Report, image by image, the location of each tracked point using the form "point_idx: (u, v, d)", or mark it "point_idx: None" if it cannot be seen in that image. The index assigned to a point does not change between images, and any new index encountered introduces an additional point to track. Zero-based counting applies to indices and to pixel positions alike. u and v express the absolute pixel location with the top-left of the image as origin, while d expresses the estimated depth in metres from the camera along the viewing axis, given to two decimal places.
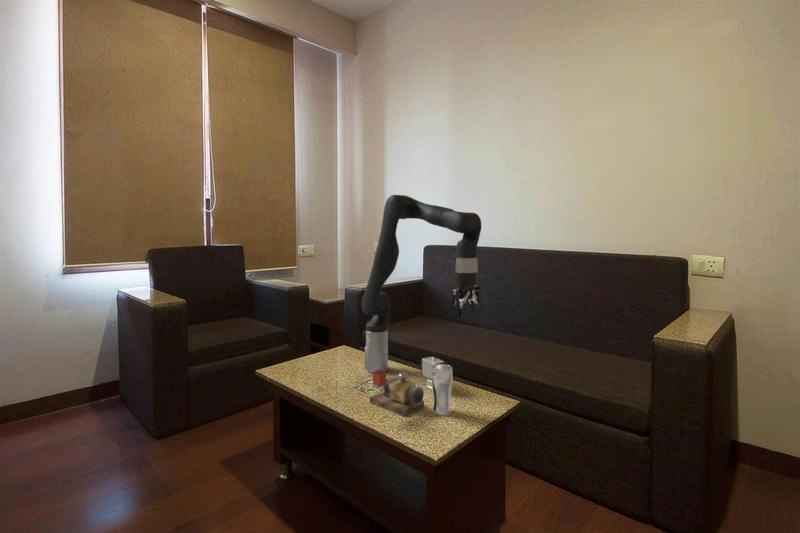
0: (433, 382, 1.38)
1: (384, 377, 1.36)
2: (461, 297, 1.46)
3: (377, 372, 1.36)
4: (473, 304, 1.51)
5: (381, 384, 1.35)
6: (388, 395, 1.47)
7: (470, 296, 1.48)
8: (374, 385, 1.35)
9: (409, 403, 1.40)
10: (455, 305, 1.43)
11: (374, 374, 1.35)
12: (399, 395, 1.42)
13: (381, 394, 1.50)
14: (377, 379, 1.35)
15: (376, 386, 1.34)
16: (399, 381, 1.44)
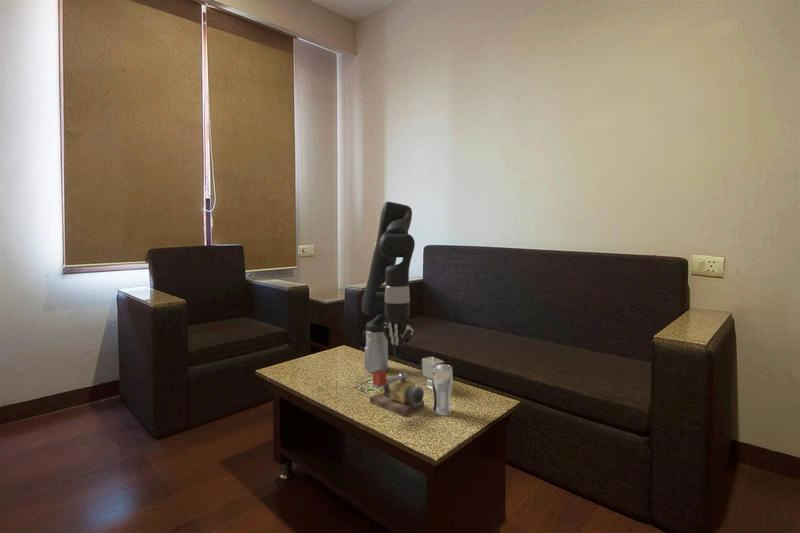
0: (433, 382, 1.38)
1: (384, 377, 1.36)
2: None
3: (377, 372, 1.36)
4: None
5: (381, 384, 1.35)
6: (388, 395, 1.47)
7: (394, 328, 1.28)
8: (374, 385, 1.35)
9: (409, 403, 1.40)
10: None
11: (374, 374, 1.35)
12: (399, 395, 1.42)
13: (381, 394, 1.50)
14: (377, 379, 1.35)
15: (376, 386, 1.34)
16: (399, 381, 1.44)
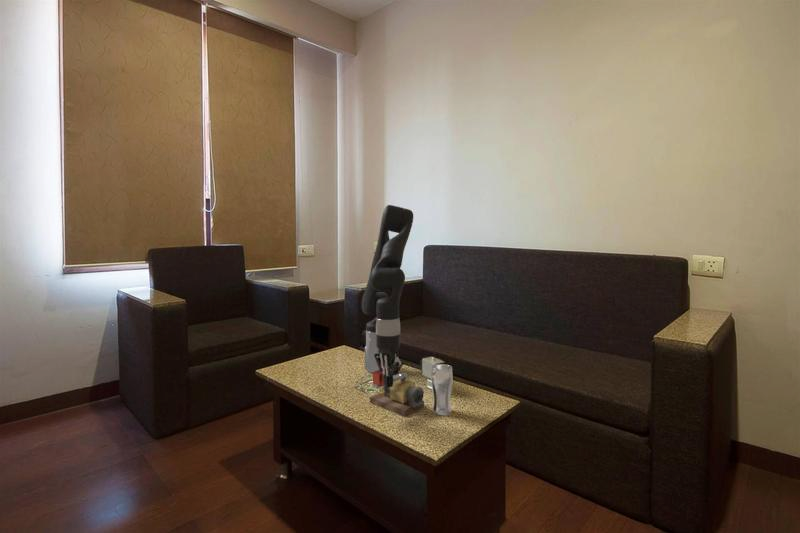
0: (433, 382, 1.38)
1: None
2: None
3: (377, 372, 1.36)
4: None
5: (381, 384, 1.35)
6: (388, 395, 1.47)
7: (385, 359, 1.32)
8: (374, 385, 1.35)
9: (409, 403, 1.40)
10: None
11: (374, 374, 1.35)
12: (399, 395, 1.42)
13: (381, 394, 1.50)
14: (377, 379, 1.35)
15: (376, 386, 1.34)
16: (399, 381, 1.44)
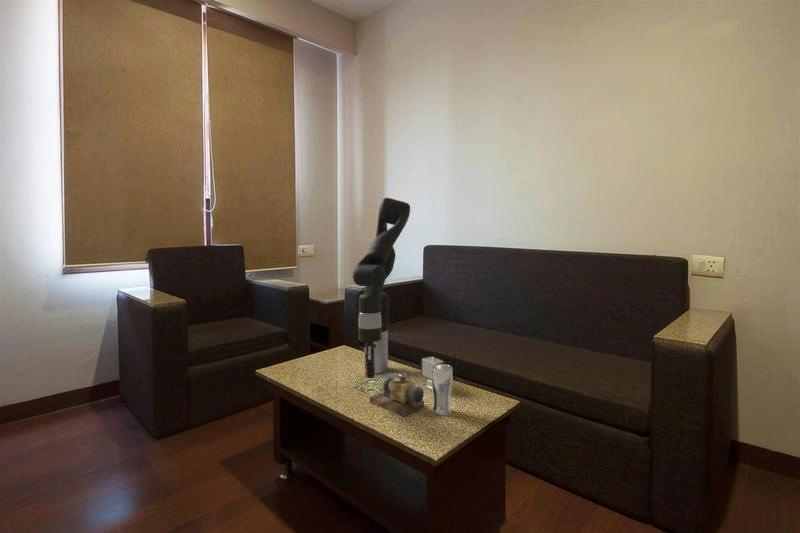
0: (433, 382, 1.38)
1: None
2: None
3: None
4: None
5: None
6: (388, 395, 1.47)
7: None
8: None
9: (409, 403, 1.40)
10: None
11: None
12: (399, 395, 1.42)
13: (381, 394, 1.50)
14: None
15: None
16: (399, 381, 1.44)
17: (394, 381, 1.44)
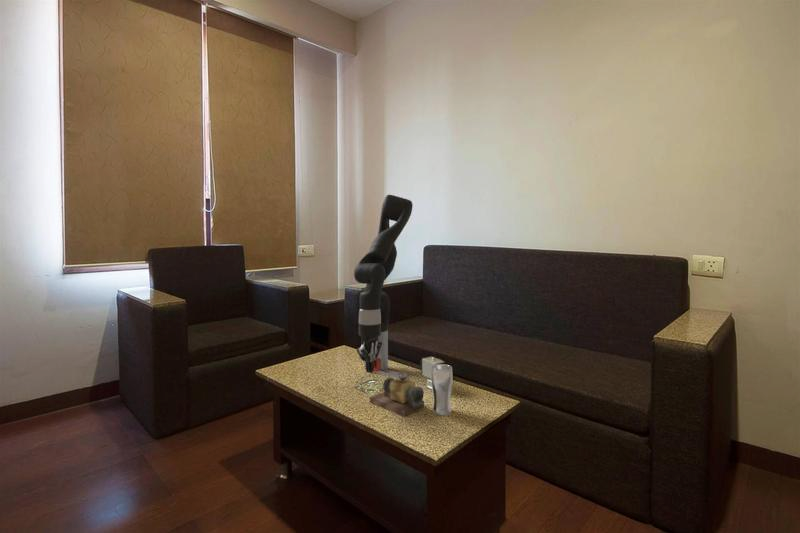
0: (433, 382, 1.38)
1: (374, 365, 1.48)
2: None
3: None
4: None
5: None
6: (388, 395, 1.47)
7: None
8: None
9: (409, 403, 1.40)
10: None
11: None
12: (399, 395, 1.42)
13: (381, 394, 1.50)
14: None
15: None
16: (399, 381, 1.44)
17: (394, 381, 1.44)
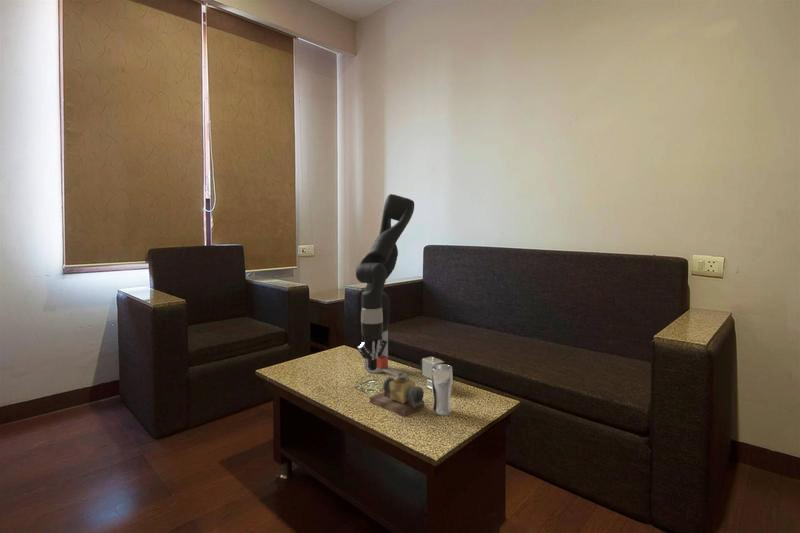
0: (433, 382, 1.38)
1: (380, 362, 1.51)
2: None
3: (381, 356, 1.53)
4: None
5: (377, 366, 1.52)
6: (388, 395, 1.47)
7: None
8: None
9: (409, 403, 1.40)
10: None
11: None
12: (399, 395, 1.42)
13: (381, 394, 1.50)
14: None
15: None
16: (399, 381, 1.44)
17: (394, 381, 1.44)
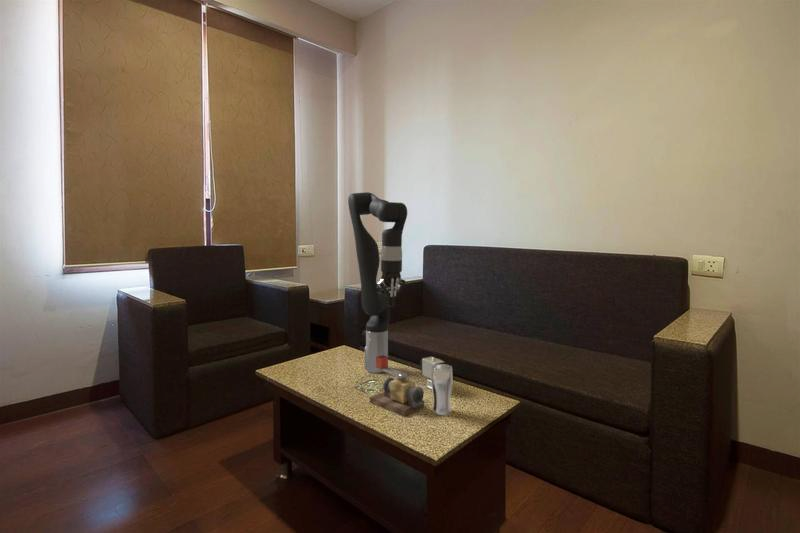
0: (433, 382, 1.38)
1: (380, 362, 1.51)
2: None
3: (381, 356, 1.53)
4: None
5: (377, 366, 1.52)
6: (388, 395, 1.47)
7: None
8: None
9: (409, 403, 1.40)
10: None
11: None
12: (399, 395, 1.42)
13: (381, 394, 1.50)
14: None
15: None
16: (399, 381, 1.44)
17: (394, 381, 1.44)
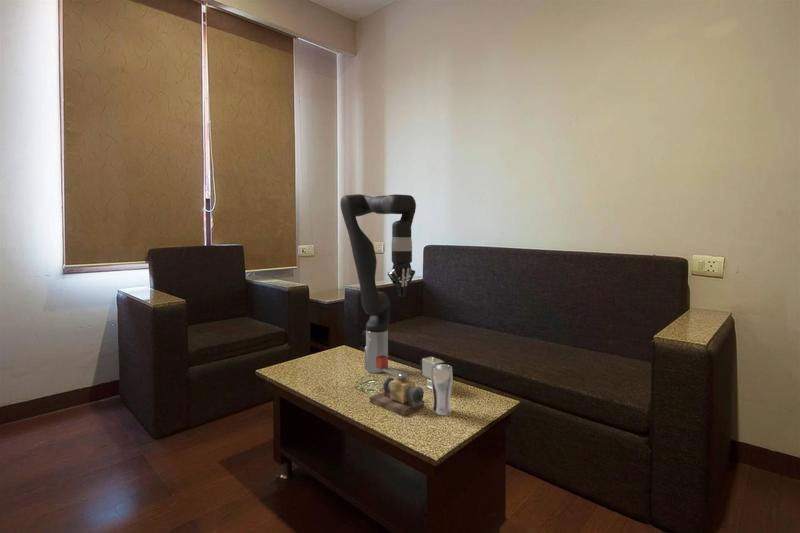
0: (433, 382, 1.38)
1: (380, 362, 1.51)
2: None
3: (381, 356, 1.53)
4: None
5: (377, 366, 1.52)
6: (388, 395, 1.47)
7: None
8: None
9: (409, 403, 1.40)
10: None
11: None
12: (399, 395, 1.42)
13: (381, 394, 1.50)
14: None
15: None
16: (399, 381, 1.44)
17: (394, 381, 1.44)
